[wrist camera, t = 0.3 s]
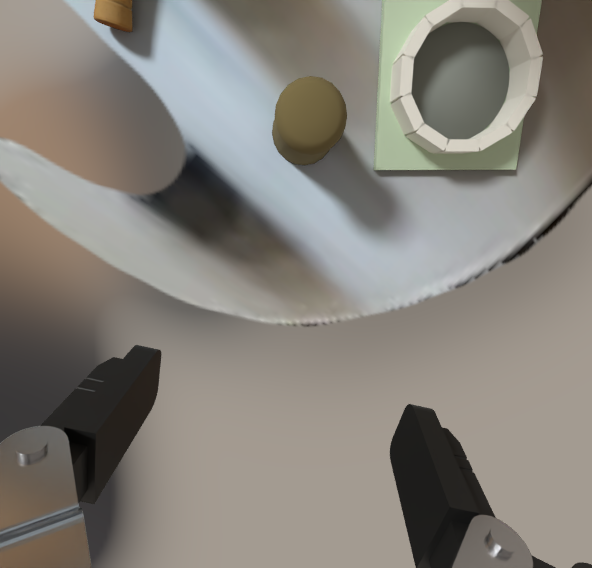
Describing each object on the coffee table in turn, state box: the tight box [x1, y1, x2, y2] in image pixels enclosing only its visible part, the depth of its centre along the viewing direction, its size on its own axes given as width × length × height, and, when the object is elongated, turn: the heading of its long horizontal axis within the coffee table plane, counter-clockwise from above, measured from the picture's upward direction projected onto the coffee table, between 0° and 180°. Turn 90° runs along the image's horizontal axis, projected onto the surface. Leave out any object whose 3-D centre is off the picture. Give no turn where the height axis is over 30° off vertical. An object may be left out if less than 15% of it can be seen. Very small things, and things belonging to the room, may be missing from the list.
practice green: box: [374, 0, 543, 170], centre depth 33 cm, size 15×14×4 cm
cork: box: [272, 76, 347, 165], centre depth 30 cm, size 6×6×11 cm
